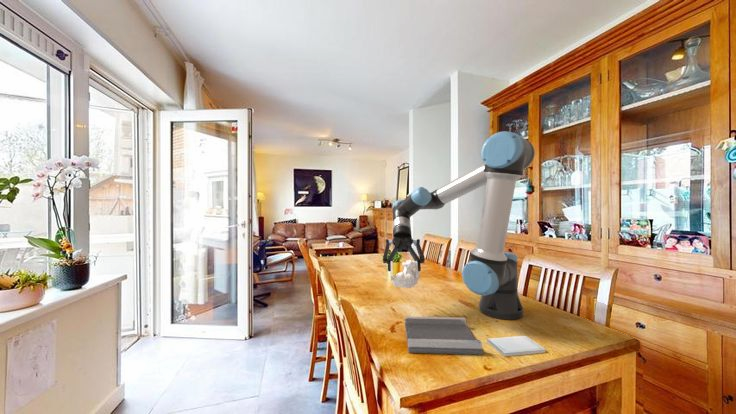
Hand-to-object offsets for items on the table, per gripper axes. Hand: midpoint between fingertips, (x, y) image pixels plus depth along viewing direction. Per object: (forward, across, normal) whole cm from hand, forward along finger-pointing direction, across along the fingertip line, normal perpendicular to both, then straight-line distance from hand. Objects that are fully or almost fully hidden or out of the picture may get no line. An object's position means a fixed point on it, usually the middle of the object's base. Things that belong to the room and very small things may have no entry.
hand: (404, 278), depth 98 cm
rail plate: (+20, -10, -1) cm, 22 cm away
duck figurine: (+1, -1, -5) cm, 6 cm away
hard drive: (+23, -30, +1) cm, 38 cm away
